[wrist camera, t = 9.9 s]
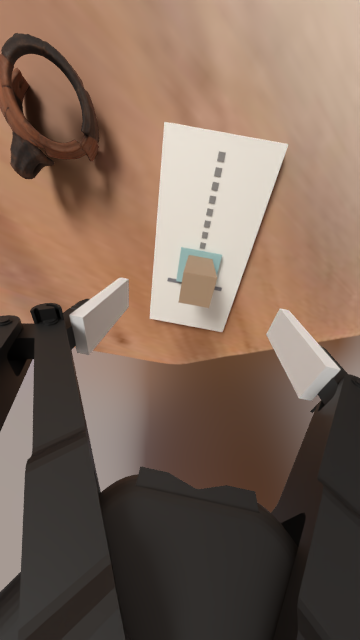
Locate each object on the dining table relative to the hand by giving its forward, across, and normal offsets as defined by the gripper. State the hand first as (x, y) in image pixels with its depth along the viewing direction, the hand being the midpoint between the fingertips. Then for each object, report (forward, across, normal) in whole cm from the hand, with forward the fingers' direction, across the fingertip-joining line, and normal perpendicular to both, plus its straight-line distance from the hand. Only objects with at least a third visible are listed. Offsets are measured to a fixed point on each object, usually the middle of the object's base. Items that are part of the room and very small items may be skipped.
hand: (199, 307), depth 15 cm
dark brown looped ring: (+15, +21, -13) cm, 29 cm away
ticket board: (+15, +1, -2) cm, 16 cm away
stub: (+13, +1, 0) cm, 14 cm away
